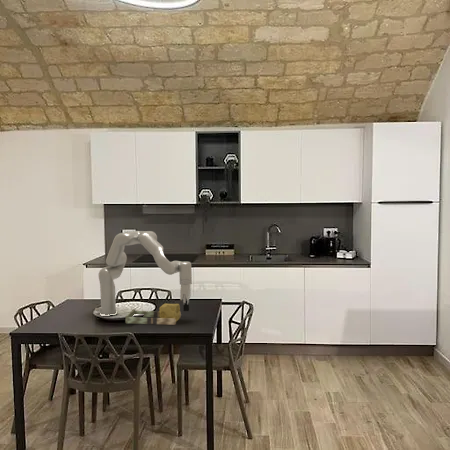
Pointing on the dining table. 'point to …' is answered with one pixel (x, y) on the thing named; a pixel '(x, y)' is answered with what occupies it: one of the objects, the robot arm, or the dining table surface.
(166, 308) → the cheese
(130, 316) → the track
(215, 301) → the dining table surface
